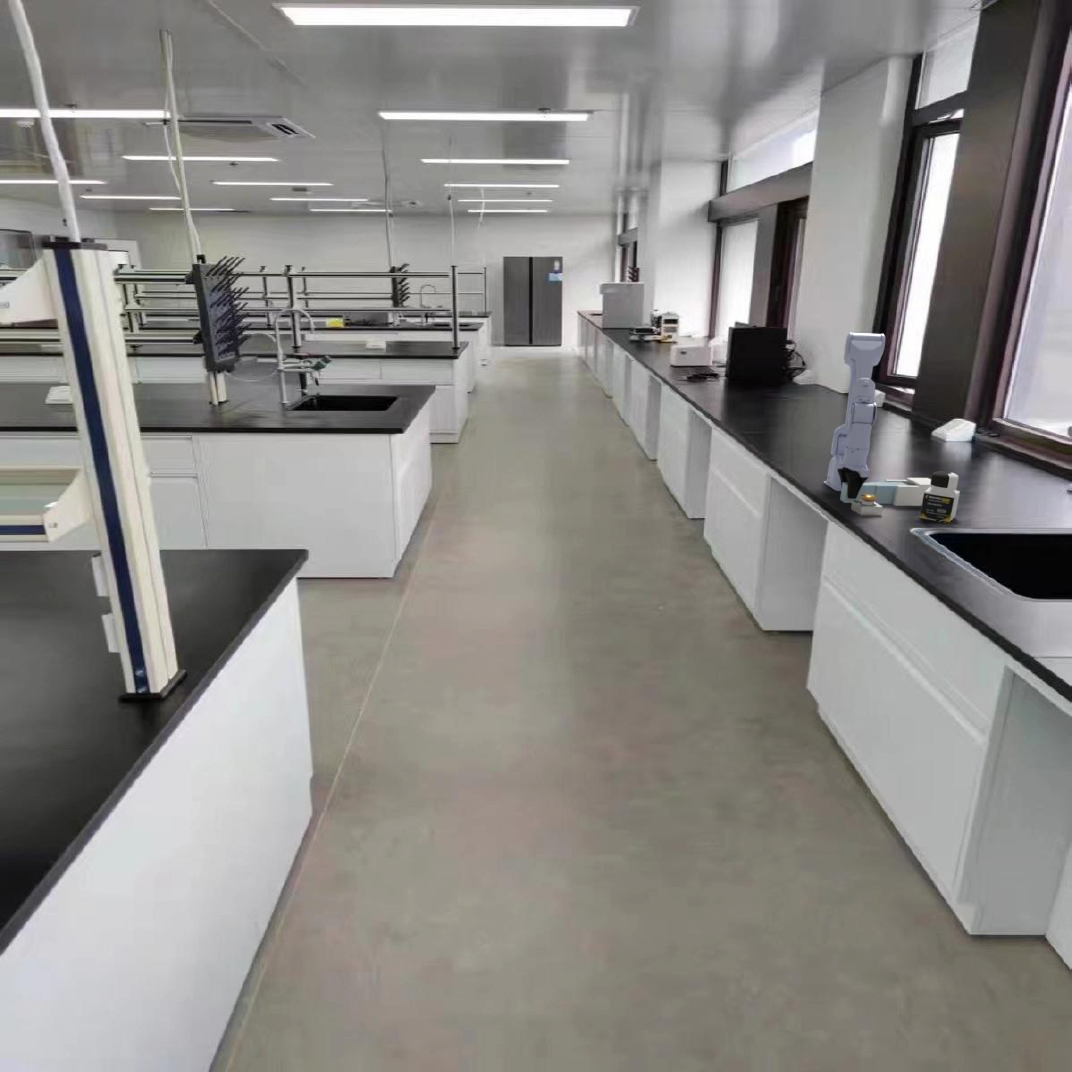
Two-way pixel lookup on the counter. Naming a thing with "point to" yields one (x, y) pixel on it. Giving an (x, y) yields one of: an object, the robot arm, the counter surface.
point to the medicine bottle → (941, 497)
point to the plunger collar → (866, 508)
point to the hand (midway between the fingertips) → (849, 496)
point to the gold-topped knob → (868, 499)
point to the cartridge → (873, 491)
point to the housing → (910, 491)
